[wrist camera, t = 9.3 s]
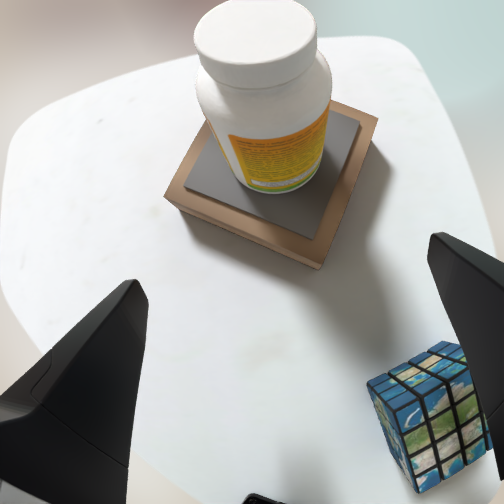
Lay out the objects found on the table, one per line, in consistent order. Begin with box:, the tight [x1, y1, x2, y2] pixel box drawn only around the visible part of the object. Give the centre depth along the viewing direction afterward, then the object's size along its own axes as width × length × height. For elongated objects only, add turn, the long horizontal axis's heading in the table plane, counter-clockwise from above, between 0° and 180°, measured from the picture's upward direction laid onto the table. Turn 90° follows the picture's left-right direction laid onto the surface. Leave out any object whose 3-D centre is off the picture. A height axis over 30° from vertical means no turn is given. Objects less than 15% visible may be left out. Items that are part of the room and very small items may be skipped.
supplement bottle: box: [194, 0, 332, 194], centre depth 13 cm, size 5×5×10 cm
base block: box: [163, 100, 378, 270], centre depth 19 cm, size 10×10×3 cm
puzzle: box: [366, 341, 493, 494], centre depth 14 cm, size 6×6×6 cm
